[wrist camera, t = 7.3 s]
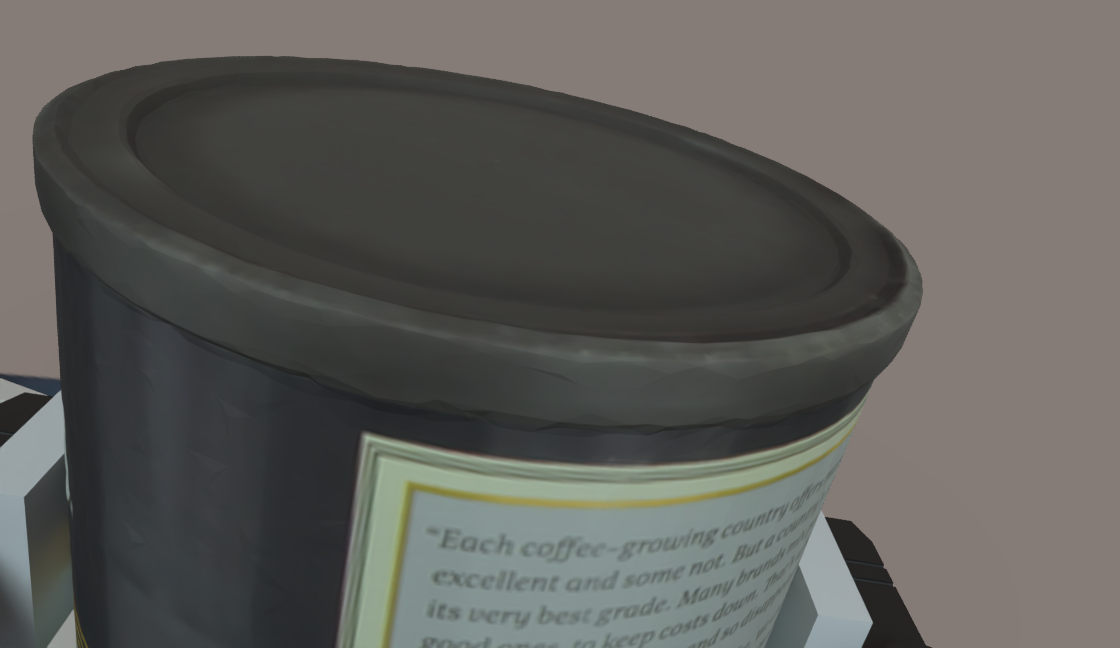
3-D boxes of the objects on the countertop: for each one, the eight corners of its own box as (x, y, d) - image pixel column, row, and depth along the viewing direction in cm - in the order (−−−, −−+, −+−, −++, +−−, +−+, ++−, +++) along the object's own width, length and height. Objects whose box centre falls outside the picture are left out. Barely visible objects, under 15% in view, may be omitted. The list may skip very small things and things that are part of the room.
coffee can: (-80, 1113, 12) (-297, 138, 6) (255, 608, 22) (291, 29, 16) (629, 1320, 12) (1098, 476, 6) (655, 712, 21) (846, 155, 15)
